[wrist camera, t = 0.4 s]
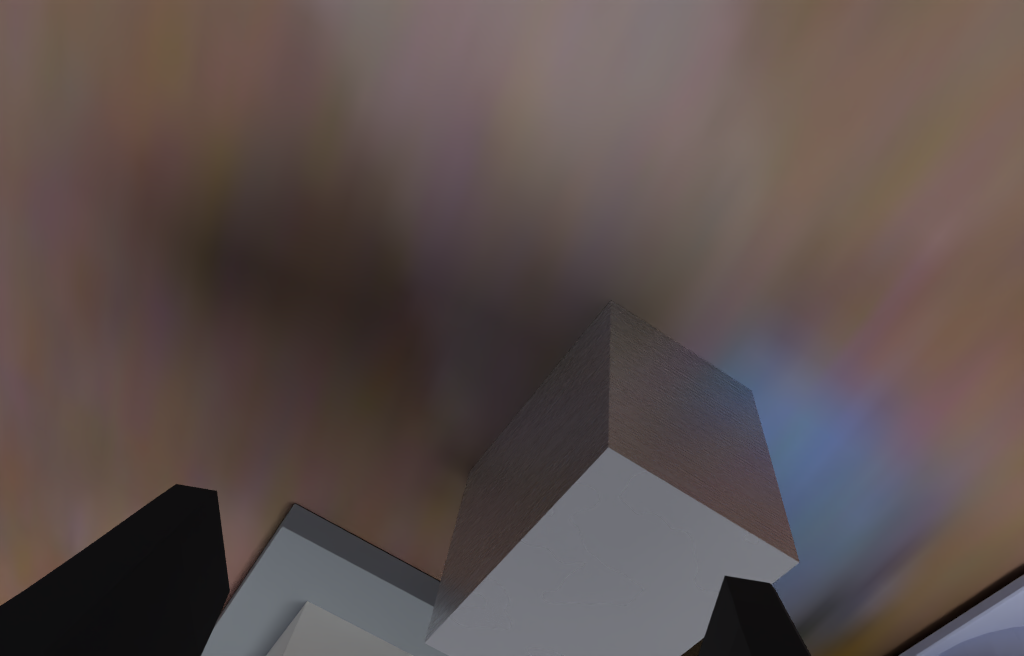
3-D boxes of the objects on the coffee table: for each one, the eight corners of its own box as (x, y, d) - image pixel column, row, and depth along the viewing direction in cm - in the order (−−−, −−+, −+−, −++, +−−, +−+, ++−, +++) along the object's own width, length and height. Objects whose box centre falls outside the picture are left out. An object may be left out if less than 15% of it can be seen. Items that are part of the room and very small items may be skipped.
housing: (751, 389, 20) (799, 562, 14) (594, 542, 23) (587, 728, 18) (611, 298, 19) (608, 447, 14) (469, 470, 22) (424, 642, 17)
